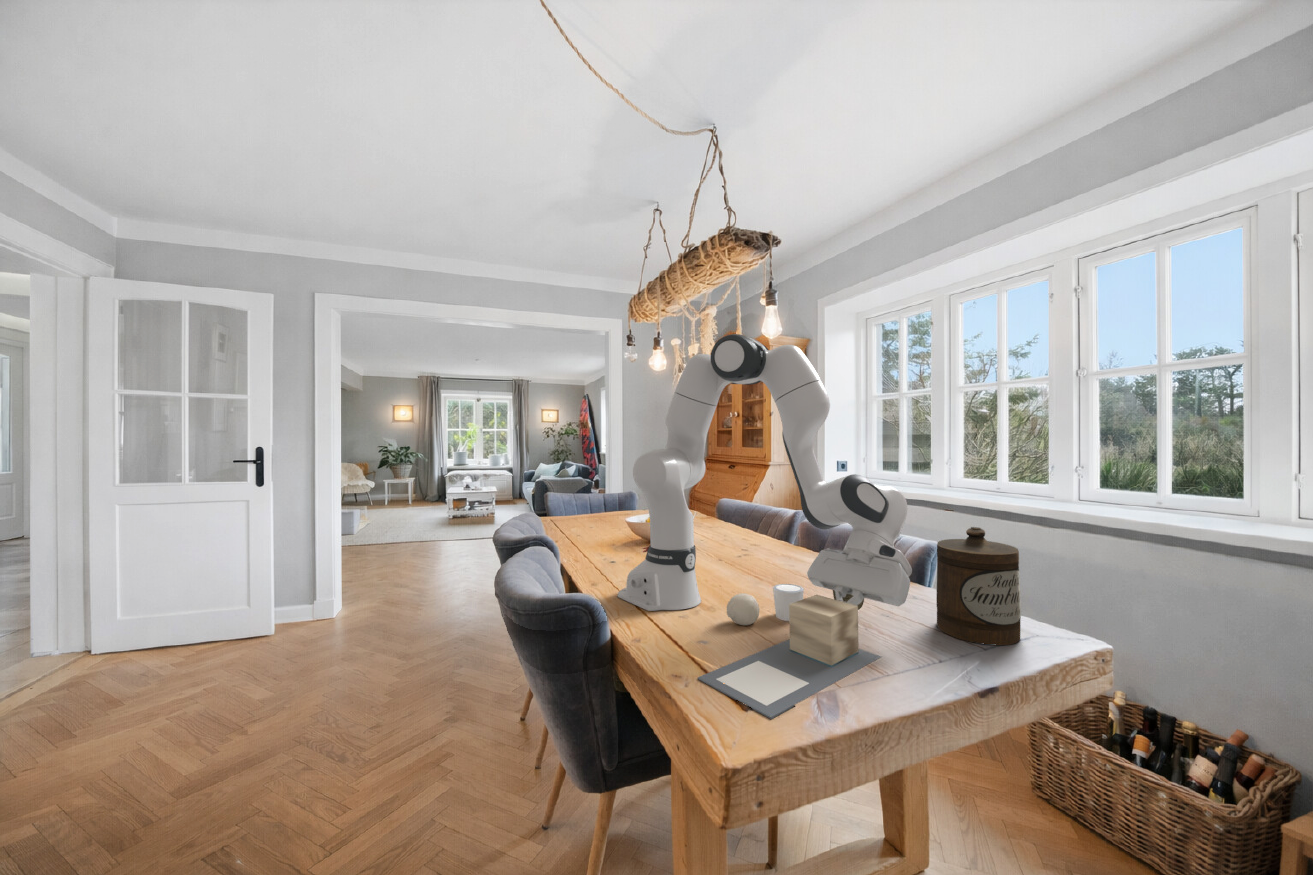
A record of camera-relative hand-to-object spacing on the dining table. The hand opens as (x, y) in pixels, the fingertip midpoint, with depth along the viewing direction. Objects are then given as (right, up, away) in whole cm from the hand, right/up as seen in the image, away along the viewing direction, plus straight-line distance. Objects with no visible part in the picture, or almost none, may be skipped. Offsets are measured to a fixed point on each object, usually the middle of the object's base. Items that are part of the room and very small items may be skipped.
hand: (841, 611), depth 99 cm
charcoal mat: (-12, -7, -10) cm, 17 cm away
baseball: (-18, -7, +12) cm, 23 cm away
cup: (+8, -7, +16) cm, 19 cm away
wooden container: (+31, -7, +6) cm, 32 cm away
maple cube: (-5, -7, -4) cm, 9 cm away
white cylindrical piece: (-6, -7, +15) cm, 18 cm away
